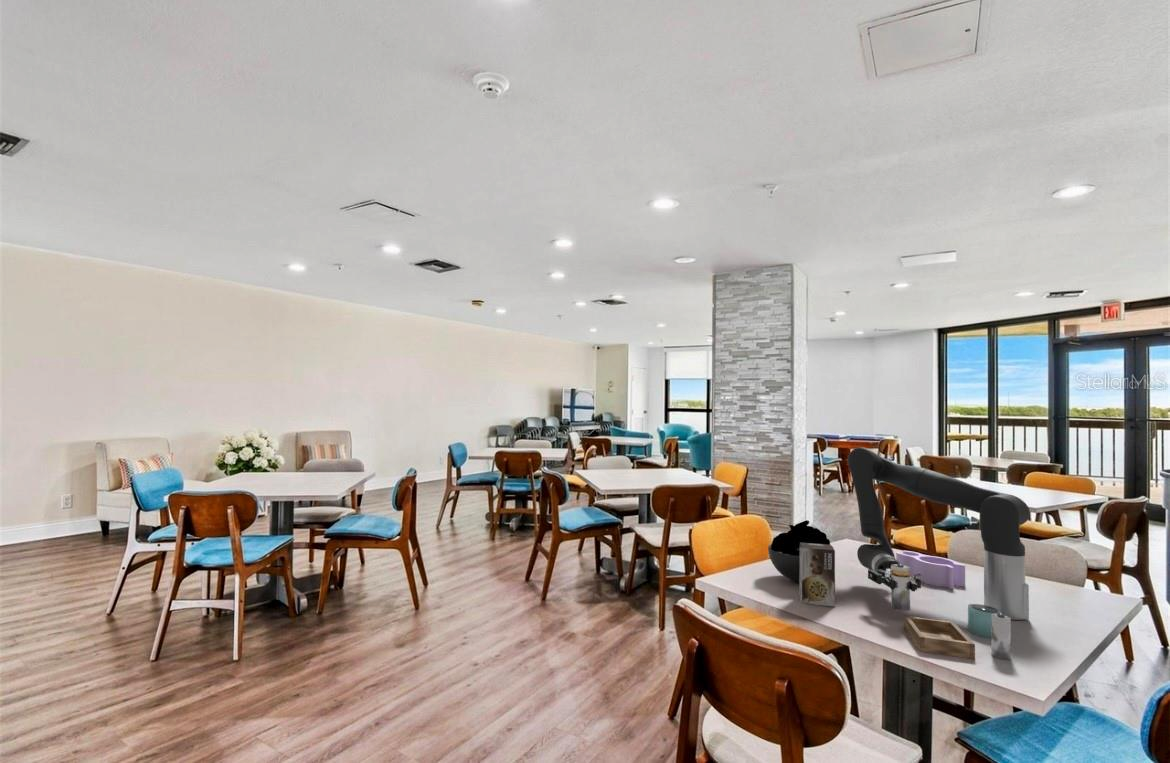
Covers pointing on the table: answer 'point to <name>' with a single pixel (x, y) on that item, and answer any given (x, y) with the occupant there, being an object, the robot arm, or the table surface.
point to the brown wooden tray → (939, 637)
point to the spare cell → (1001, 636)
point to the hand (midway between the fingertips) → (903, 586)
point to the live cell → (900, 587)
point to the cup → (980, 619)
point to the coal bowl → (793, 548)
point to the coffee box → (817, 574)
